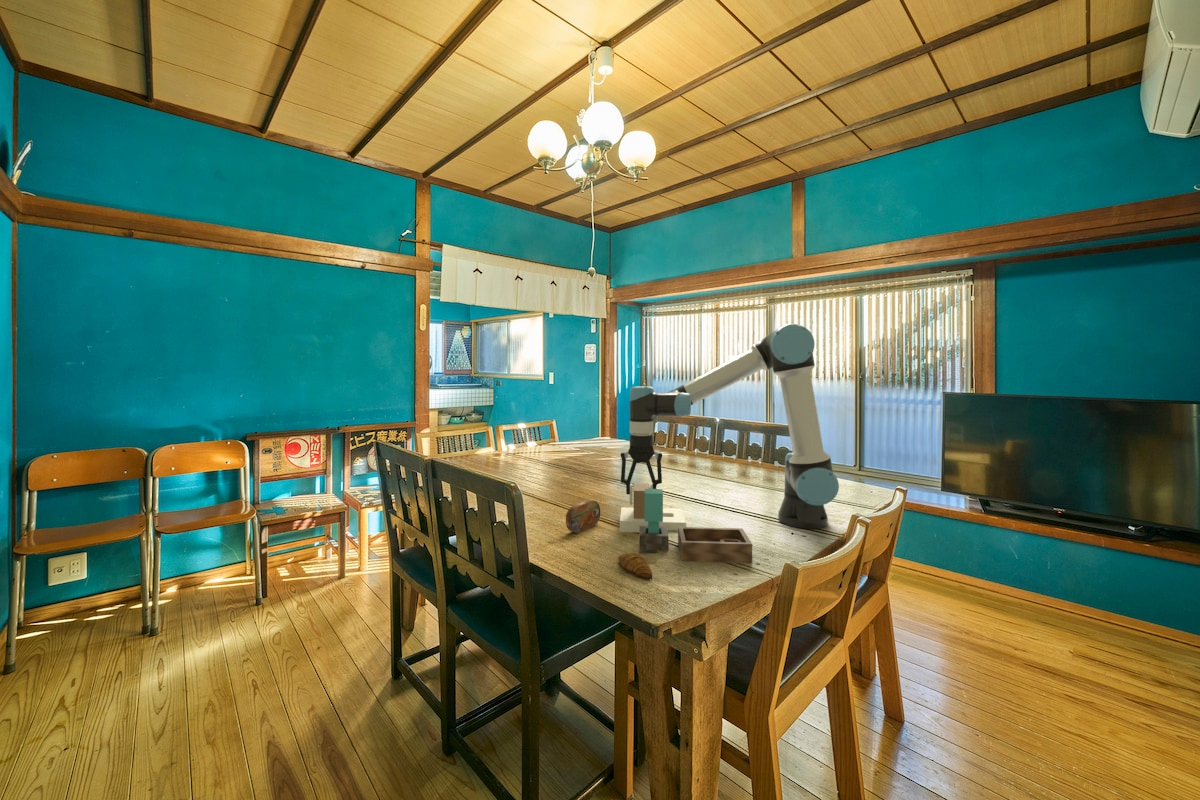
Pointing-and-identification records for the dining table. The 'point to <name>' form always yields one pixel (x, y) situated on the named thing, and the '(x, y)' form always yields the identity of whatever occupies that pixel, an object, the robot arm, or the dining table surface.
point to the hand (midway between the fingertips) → (641, 504)
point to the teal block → (653, 509)
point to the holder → (653, 540)
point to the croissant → (635, 565)
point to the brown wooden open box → (714, 545)
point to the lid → (636, 516)
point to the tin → (583, 516)
